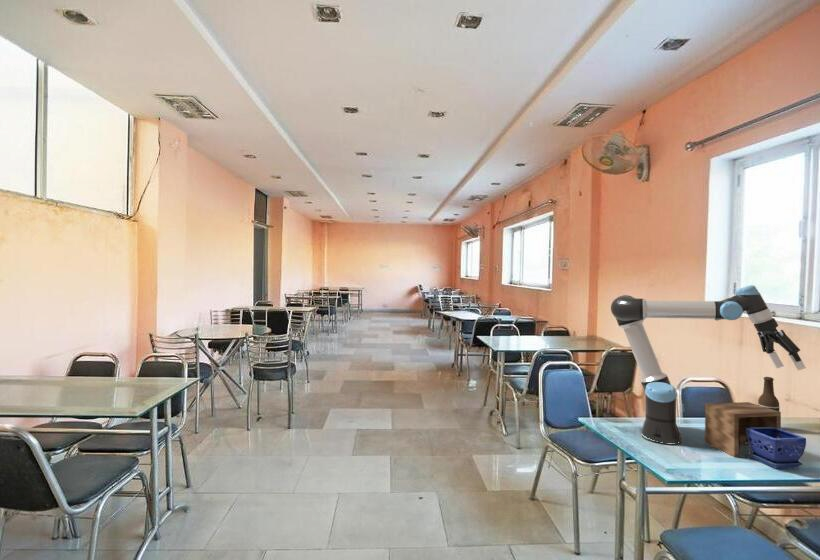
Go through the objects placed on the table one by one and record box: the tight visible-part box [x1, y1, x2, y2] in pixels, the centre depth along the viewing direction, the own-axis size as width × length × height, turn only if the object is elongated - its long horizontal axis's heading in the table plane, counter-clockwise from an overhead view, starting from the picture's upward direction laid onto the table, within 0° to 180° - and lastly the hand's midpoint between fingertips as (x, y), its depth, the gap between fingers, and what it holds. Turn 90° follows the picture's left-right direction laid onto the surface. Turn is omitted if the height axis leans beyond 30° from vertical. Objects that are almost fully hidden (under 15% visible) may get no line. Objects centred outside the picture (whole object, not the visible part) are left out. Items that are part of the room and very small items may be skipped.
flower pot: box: [746, 427, 807, 469], centre depth 162 cm, size 13×13×12 cm
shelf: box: [704, 401, 782, 458], centre depth 176 cm, size 14×21×17 cm
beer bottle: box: [757, 376, 780, 412], centre depth 201 cm, size 8×8×24 cm
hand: (790, 368), depth 177 cm, fingers open, 13 cm apart
